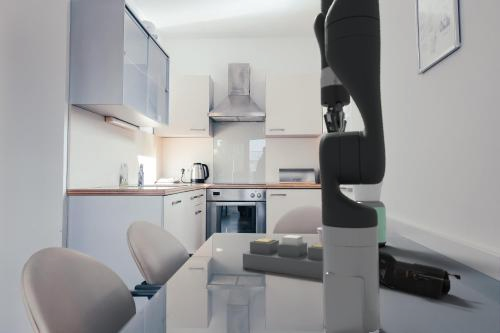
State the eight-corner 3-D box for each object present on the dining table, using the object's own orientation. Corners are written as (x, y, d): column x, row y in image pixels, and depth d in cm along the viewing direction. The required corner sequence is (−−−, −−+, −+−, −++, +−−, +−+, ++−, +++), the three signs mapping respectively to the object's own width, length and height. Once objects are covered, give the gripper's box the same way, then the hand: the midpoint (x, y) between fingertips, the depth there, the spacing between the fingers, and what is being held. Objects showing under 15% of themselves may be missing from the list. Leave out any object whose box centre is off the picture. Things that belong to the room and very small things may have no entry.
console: (331, 280, 85) (331, 251, 85) (242, 267, 98) (242, 243, 98) (344, 269, 95) (343, 244, 95) (262, 259, 108) (262, 237, 109)
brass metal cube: (328, 259, 89) (328, 247, 89) (312, 258, 91) (312, 246, 91) (333, 256, 93) (333, 244, 93) (318, 254, 95) (318, 243, 95)
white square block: (296, 249, 94) (296, 238, 94) (282, 248, 96) (282, 237, 96) (302, 247, 98) (302, 236, 98) (288, 245, 100) (288, 234, 100)
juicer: (374, 251, 119) (372, 151, 121) (340, 246, 129) (339, 154, 130) (398, 244, 132) (395, 154, 133) (365, 239, 142) (363, 156, 143)
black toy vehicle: (449, 307, 68) (449, 266, 68) (341, 278, 87) (342, 246, 87) (460, 299, 73) (460, 261, 73) (356, 273, 92) (356, 242, 92)
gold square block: (267, 252, 98) (267, 241, 98) (254, 251, 100) (254, 240, 101) (274, 250, 102) (274, 239, 102) (261, 248, 104) (261, 238, 104)
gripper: (342, 78, 81) (344, 150, 81) (355, 90, 93) (357, 154, 92) (312, 83, 85) (313, 152, 84) (328, 94, 97) (329, 155, 96)
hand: (336, 152), depth 88 cm, fingers closed
